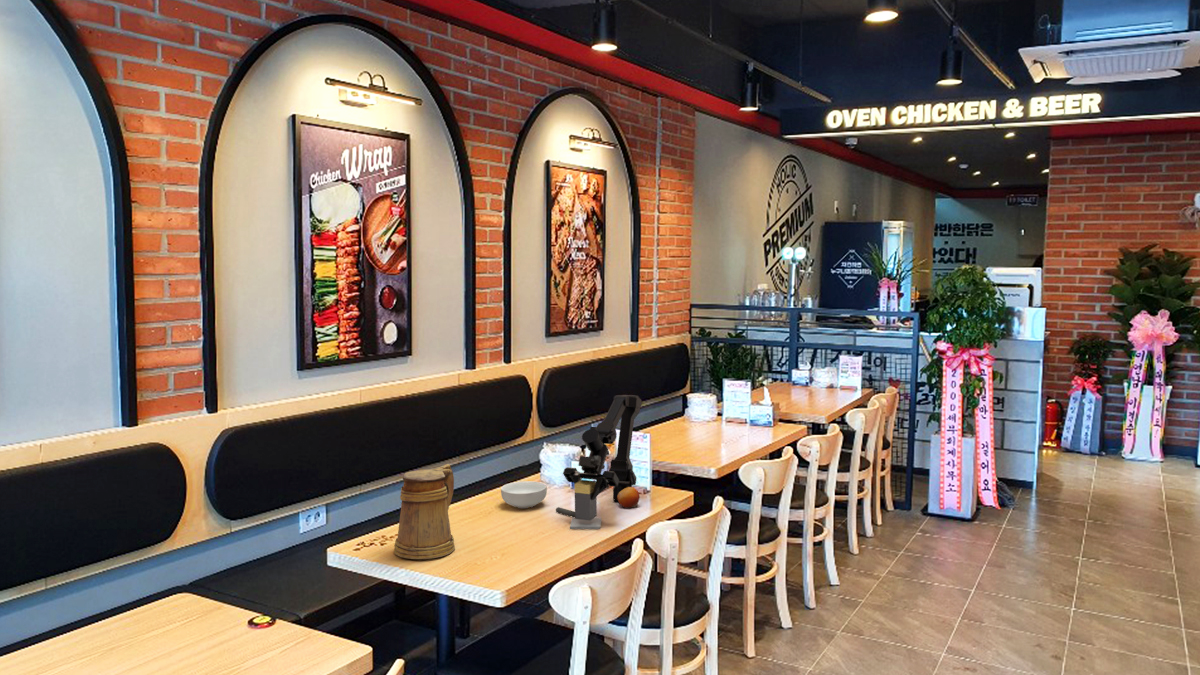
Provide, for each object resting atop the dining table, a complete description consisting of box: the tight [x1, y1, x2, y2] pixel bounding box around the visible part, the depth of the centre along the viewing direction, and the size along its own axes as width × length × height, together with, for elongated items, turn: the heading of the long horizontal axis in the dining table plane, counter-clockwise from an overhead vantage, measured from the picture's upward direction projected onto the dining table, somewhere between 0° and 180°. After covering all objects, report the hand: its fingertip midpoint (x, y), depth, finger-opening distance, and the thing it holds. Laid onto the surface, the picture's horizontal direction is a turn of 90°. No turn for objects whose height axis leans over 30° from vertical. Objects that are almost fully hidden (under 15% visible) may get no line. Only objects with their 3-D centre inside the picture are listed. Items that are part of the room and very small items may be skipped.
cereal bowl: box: [500, 480, 548, 509], centre depth 324 cm, size 17×17×7 cm
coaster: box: [569, 517, 602, 530], centre depth 299 cm, size 10×10×1 cm
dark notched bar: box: [555, 506, 575, 518], centre depth 311 cm, size 14×2×2 cm, turn 44°
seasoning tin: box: [573, 479, 598, 521], centre depth 299 cm, size 6×6×12 cm
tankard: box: [393, 463, 456, 560], centre depth 276 cm, size 18×24×25 cm
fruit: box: [617, 486, 640, 509], centre depth 321 cm, size 8×8×8 cm
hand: (583, 498), depth 297 cm, fingers closed on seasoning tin, 5 cm apart
